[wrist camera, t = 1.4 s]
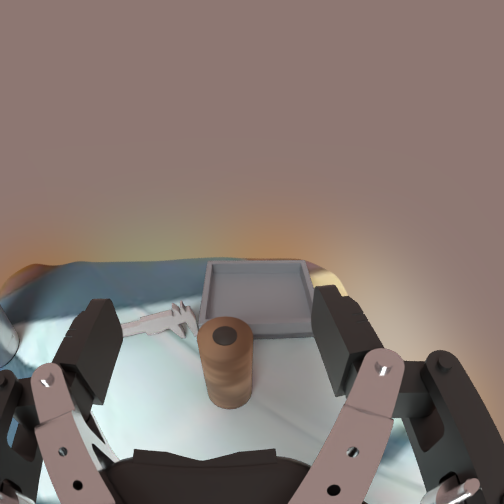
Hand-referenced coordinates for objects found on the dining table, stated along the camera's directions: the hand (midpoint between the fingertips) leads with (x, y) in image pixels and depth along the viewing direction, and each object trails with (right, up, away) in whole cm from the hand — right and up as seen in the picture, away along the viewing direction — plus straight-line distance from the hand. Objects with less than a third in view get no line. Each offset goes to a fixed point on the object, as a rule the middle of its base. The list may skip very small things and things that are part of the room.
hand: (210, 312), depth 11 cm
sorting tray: (+3, -5, +32) cm, 33 cm away
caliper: (-16, -10, +25) cm, 31 cm away
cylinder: (-1, -14, +19) cm, 24 cm away
